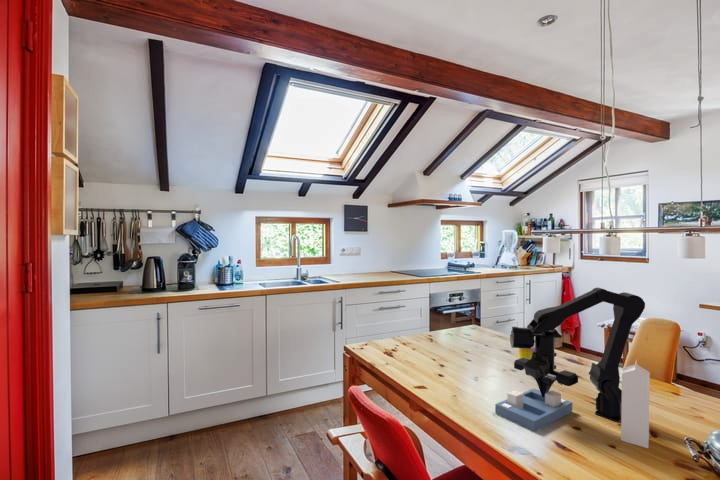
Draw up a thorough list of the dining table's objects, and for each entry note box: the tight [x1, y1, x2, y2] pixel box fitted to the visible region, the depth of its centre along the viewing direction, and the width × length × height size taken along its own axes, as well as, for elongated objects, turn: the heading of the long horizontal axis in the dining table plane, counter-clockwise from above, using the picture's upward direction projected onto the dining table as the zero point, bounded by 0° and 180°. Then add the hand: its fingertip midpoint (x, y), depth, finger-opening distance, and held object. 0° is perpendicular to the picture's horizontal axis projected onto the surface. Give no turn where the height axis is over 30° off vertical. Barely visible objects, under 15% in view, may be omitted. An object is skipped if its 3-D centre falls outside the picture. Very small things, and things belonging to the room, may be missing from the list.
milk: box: [620, 358, 651, 449], centre depth 101 cm, size 6×6×22 cm
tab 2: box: [545, 389, 562, 408], centre depth 117 cm, size 3×4×5 cm
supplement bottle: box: [517, 344, 535, 359], centre depth 159 cm, size 7×7×13 cm
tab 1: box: [507, 389, 524, 410], centre depth 117 cm, size 3×4×5 cm
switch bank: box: [494, 388, 573, 432], centre depth 117 cm, size 13×22×3 cm, turn 124°
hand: (543, 396), depth 119 cm, fingers closed
